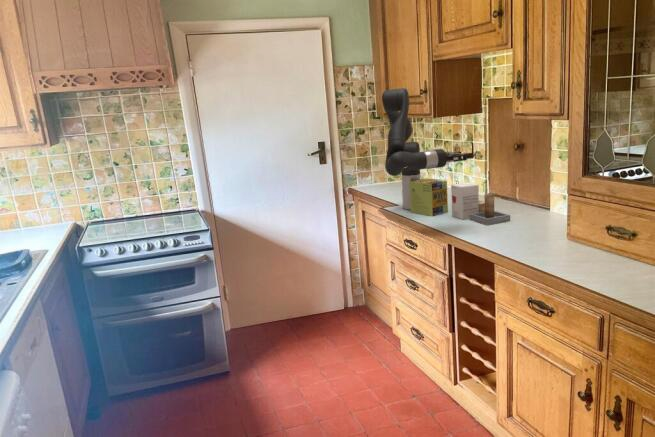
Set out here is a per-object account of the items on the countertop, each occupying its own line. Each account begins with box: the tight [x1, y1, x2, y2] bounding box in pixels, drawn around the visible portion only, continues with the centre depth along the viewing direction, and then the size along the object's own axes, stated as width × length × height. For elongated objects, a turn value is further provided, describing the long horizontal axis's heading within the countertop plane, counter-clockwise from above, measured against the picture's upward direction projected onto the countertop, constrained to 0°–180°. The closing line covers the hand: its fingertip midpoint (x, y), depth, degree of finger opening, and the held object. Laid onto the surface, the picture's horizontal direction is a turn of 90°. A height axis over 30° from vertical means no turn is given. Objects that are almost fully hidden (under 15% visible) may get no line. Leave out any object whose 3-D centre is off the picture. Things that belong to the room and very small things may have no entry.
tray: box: [469, 210, 511, 226], centre depth 226 cm, size 12×12×3 cm
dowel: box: [484, 193, 495, 218], centre depth 225 cm, size 4×4×11 cm
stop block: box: [479, 200, 485, 213], centre depth 238 cm, size 10×4×6 cm, turn 19°
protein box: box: [409, 177, 449, 217], centre depth 249 cm, size 10×15×16 cm
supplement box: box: [450, 181, 480, 221], centre depth 235 cm, size 9×9×15 cm
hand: (466, 154), depth 216 cm, fingers open, 8 cm apart
